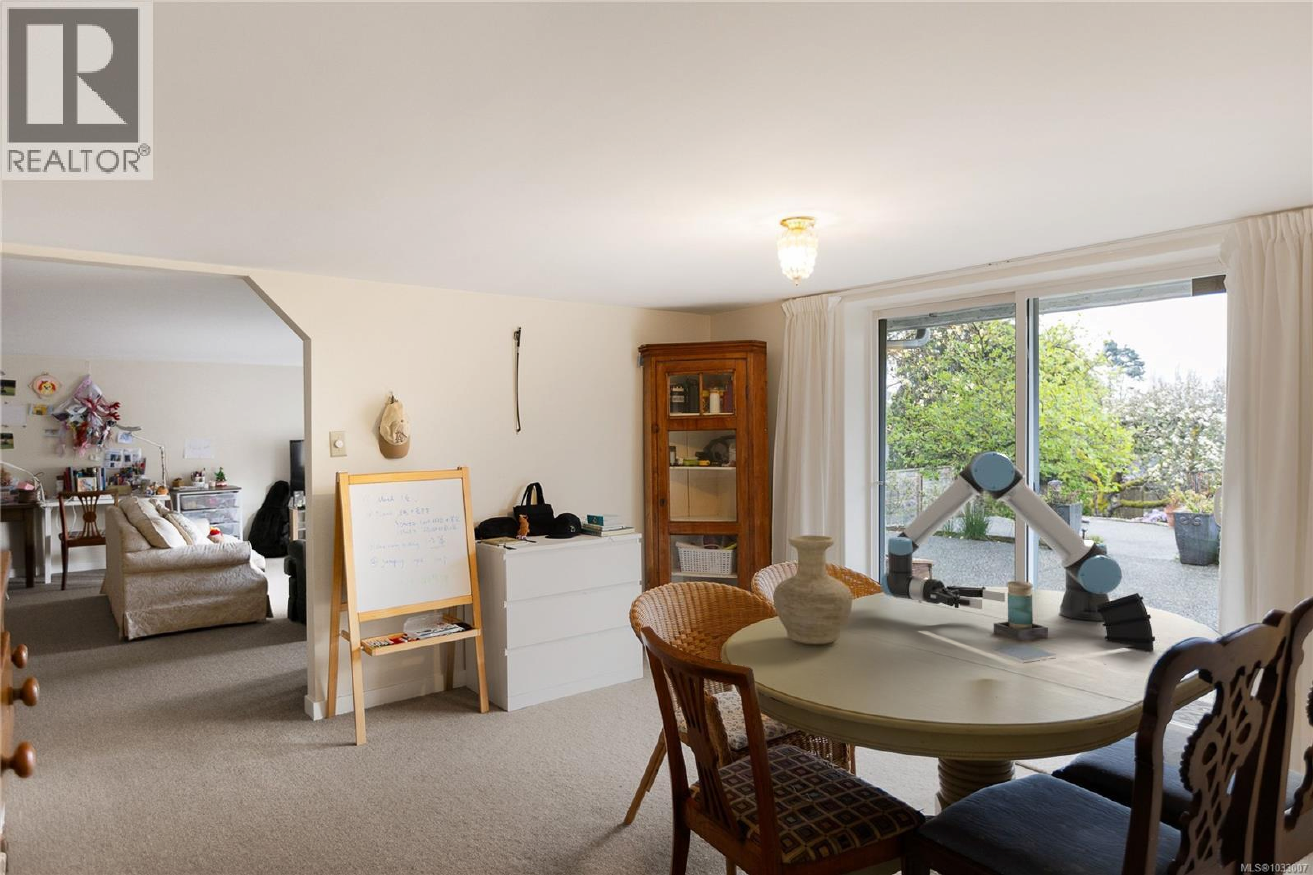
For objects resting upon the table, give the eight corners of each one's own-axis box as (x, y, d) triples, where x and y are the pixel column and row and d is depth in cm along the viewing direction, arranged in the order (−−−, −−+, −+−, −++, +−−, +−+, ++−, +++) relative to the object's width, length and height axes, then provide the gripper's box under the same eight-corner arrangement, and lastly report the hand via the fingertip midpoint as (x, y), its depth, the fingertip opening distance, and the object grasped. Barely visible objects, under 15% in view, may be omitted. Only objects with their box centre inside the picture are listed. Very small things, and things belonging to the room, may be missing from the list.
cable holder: (1020, 632, 232) (1020, 618, 232) (1053, 642, 221) (1053, 627, 221) (988, 636, 228) (988, 622, 228) (1020, 646, 217) (1020, 632, 217)
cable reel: (1020, 631, 229) (1019, 580, 229) (1039, 637, 222) (1038, 584, 222) (1002, 634, 226) (1001, 582, 226) (1020, 639, 220) (1019, 586, 220)
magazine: (1162, 648, 206) (1134, 594, 211) (1114, 660, 216) (1088, 608, 221) (1167, 646, 209) (1140, 592, 214) (1119, 657, 218) (1094, 605, 223)
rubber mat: (1023, 647, 216) (1023, 644, 216) (1056, 658, 205) (1055, 654, 205) (991, 652, 212) (991, 648, 212) (1023, 663, 202) (1023, 659, 202)
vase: (781, 629, 241) (779, 532, 240) (856, 634, 233) (854, 534, 233) (767, 649, 220) (765, 542, 219) (848, 655, 212) (846, 544, 212)
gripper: (949, 596, 255) (1013, 606, 238) (905, 608, 239) (971, 620, 222) (948, 573, 254) (1013, 582, 238) (905, 584, 239) (971, 594, 222)
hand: (993, 600), depth 230 cm, fingers open, 13 cm apart
